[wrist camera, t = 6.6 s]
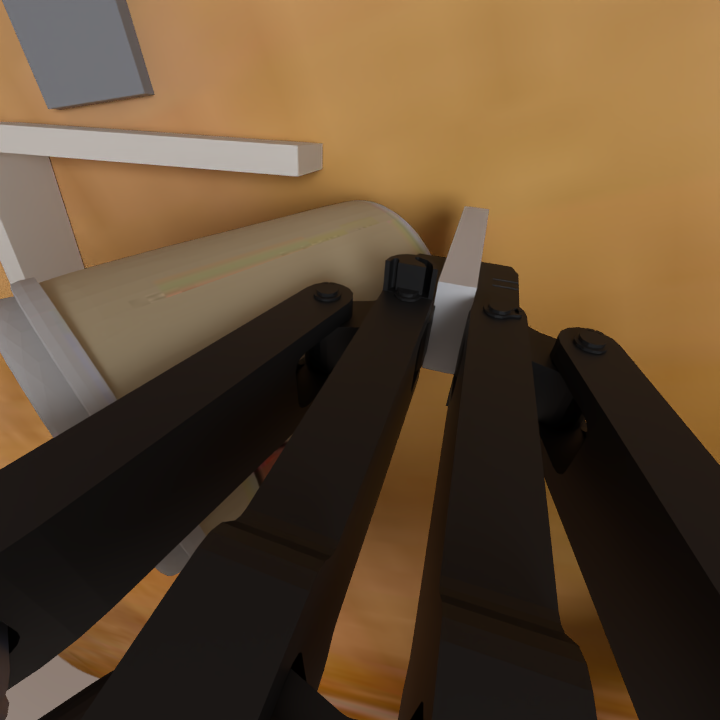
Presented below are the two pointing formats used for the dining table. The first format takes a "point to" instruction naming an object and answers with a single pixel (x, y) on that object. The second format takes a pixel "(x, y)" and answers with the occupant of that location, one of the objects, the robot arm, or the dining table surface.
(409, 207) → the dining table surface
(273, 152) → the frame
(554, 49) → the dining table surface
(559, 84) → the dining table surface
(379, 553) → the dining table surface
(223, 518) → the coffee cup
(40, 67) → the slate tile
